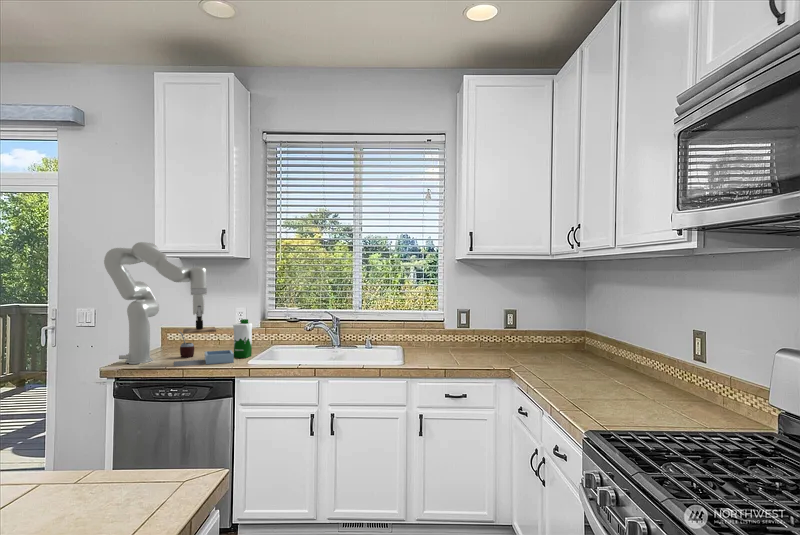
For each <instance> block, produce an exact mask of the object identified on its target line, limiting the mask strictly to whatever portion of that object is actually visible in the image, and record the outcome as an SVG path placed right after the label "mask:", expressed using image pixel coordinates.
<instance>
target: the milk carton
mask: <svg viewBox="0 0 800 535" xmlns="http://www.w3.org/2000/svg"><path fill="white" fill-rule="evenodd" d="M232 326H233V327H232V328H233V353H234V359H247V358H251V357H252V355H253V354H252V353H253V352H252V349H253V344H252V343H253V341H252V340H253V334H252V333H253V323H251V322H249V319H243V318H241V319H240V322H237V323H234V324H232Z"/></svg>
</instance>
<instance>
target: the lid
mask: <svg viewBox="0 0 800 535" xmlns="http://www.w3.org/2000/svg"><path fill="white" fill-rule="evenodd" d="M213 332H214V333H215V332H217V329H216V327H215V326H205V327H204V326H203V329H196V327H188V328H187V327H186V328H183V329H182V334H183V335H184V334H201V333H213Z"/></svg>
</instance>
